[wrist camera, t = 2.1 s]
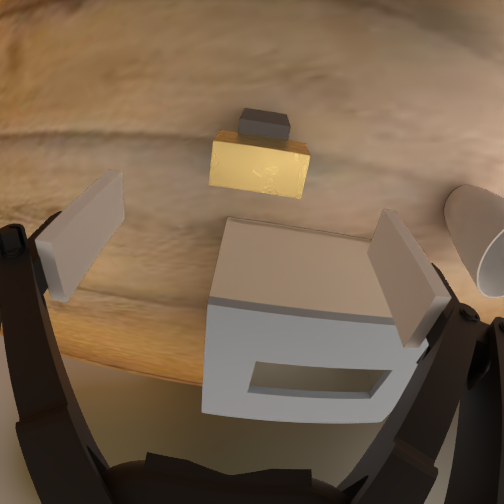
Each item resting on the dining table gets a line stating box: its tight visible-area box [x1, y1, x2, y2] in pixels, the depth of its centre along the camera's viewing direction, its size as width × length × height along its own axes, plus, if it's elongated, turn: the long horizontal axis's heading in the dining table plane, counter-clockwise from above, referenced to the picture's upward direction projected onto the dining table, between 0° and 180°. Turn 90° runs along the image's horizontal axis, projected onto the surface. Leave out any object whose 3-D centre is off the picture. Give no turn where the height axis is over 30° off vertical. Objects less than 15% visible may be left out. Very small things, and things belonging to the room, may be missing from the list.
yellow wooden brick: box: [209, 130, 310, 199], centre depth 21 cm, size 3×6×3 cm, turn 82°
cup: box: [444, 185, 504, 298], centre depth 24 cm, size 8×8×10 cm
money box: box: [202, 217, 429, 423], centre depth 31 cm, size 16×20×12 cm
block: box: [238, 108, 290, 140], centre depth 24 cm, size 5×4×5 cm
